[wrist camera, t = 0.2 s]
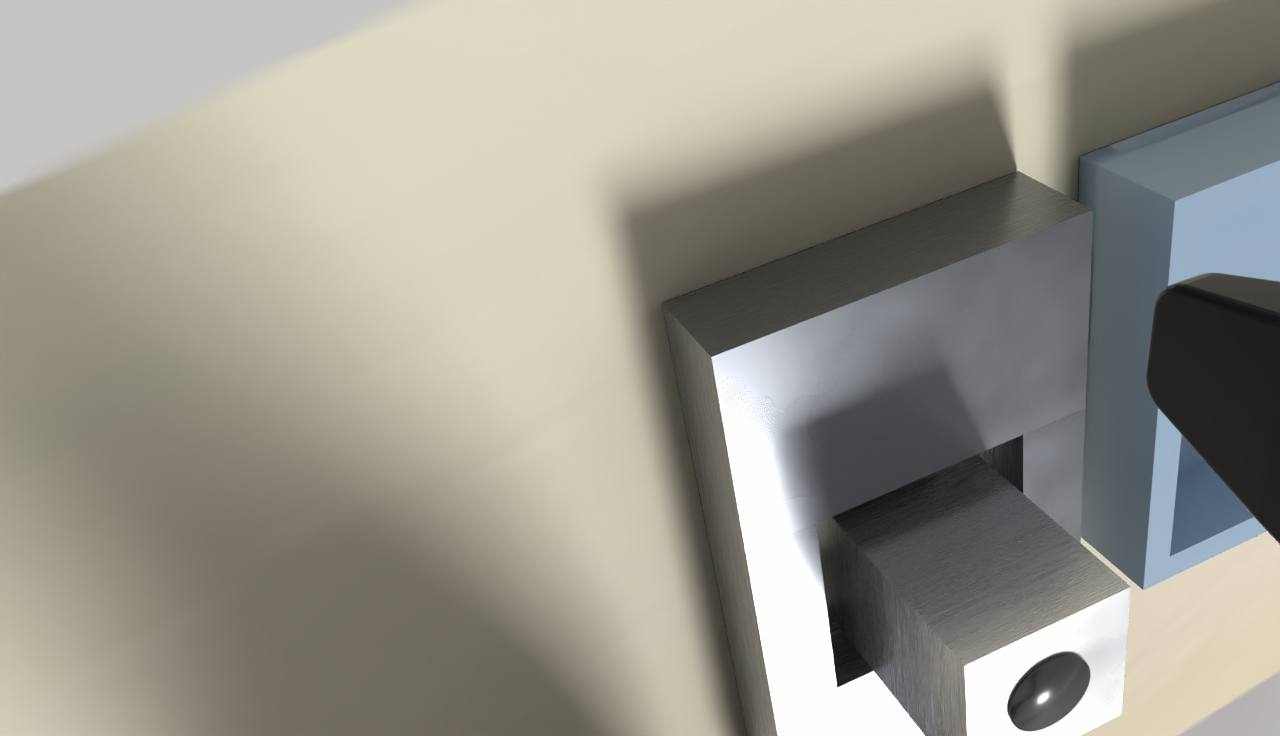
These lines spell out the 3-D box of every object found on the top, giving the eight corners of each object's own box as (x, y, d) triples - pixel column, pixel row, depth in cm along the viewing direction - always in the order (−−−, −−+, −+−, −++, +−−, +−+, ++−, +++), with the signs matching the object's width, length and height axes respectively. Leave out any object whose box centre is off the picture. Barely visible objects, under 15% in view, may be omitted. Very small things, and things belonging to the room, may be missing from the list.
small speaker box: (940, 534, 32) (1124, 718, 26) (810, 591, 31) (972, 794, 25) (934, 417, 30) (1134, 589, 24) (794, 475, 29) (967, 669, 23)
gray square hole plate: (1018, 649, 36) (1073, 706, 34) (755, 775, 34) (796, 844, 32) (1018, 171, 27) (1093, 209, 25) (661, 303, 25) (711, 357, 23)
